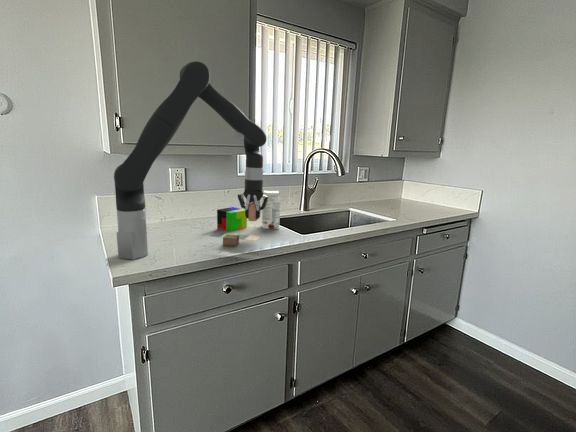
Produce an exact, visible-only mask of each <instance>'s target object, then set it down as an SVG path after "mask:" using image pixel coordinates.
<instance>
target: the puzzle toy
mask: <svg viewBox="0 0 576 432" xmlns="http://www.w3.org/2000/svg"><path fill="white" fill-rule="evenodd" d="M216 217H217V218H216V221H217V222H216V224H217V225H216V227H217V229H216V230H220V229H221V230H226V231H229V232H234V231H239V230H242V229H246V228H247V227H248V218H246V216H245V209H244V208H239V207H234V206H231V207H225V208H220V209H216Z"/></svg>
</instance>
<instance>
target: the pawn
mask: <svg viewBox="0 0 576 432" xmlns="http://www.w3.org/2000/svg"><path fill="white" fill-rule="evenodd" d="M256 211H257V209H256V206H255V203H254V202H251V204H250V206H249V214H248V218H247V221H250V222H257V221H258V219H256Z"/></svg>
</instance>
